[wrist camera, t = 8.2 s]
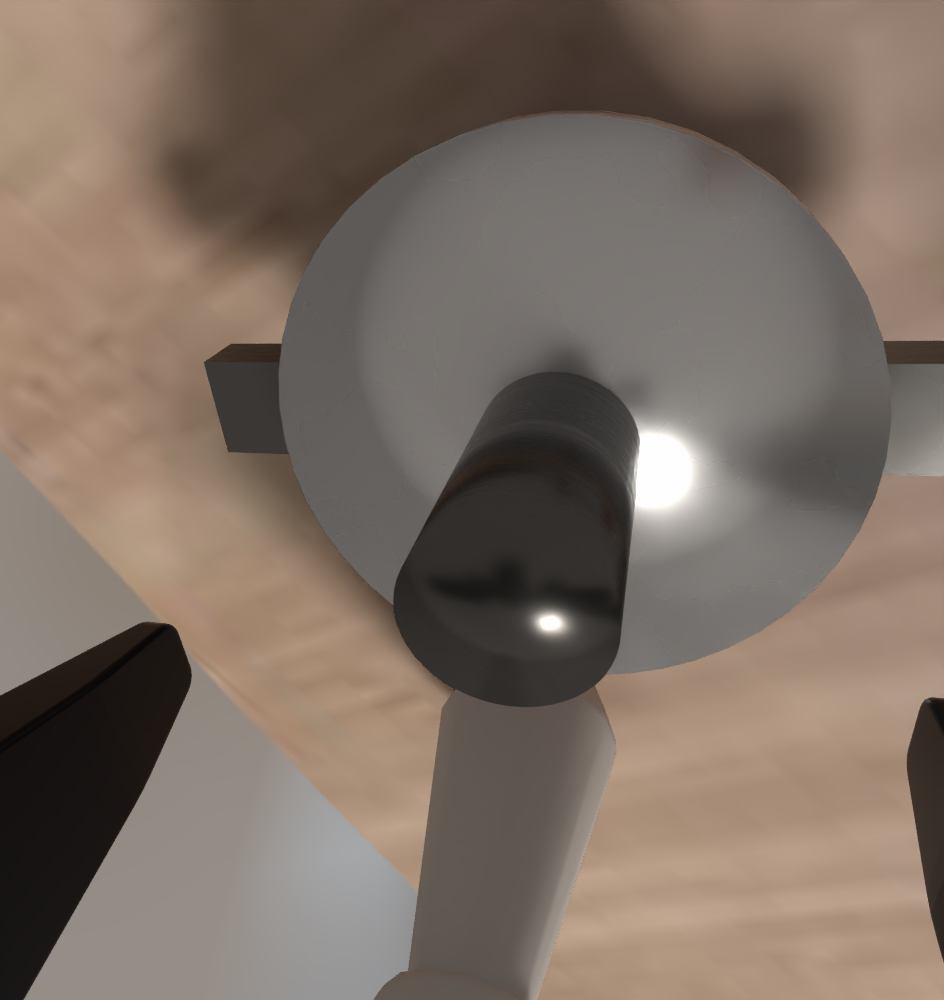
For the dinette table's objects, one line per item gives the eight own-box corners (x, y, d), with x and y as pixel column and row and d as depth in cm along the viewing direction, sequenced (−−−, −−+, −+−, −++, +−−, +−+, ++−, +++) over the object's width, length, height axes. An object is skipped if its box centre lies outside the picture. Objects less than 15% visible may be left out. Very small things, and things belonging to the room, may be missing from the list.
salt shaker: (434, 635, 27) (263, 1042, 16) (593, 614, 25) (521, 1067, 14) (489, 753, 29) (374, 1176, 18) (638, 743, 27) (607, 1213, 16)
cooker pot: (984, 85, 16) (1125, 110, 11) (891, 508, 21) (956, 661, 16) (275, 139, 19) (133, 175, 14) (342, 484, 24) (253, 600, 19)
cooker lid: (945, 82, 11) (1164, 121, 6) (827, 667, 16) (888, 944, 11) (246, 132, 14) (-12, 190, 9) (347, 621, 19) (226, 831, 14)
